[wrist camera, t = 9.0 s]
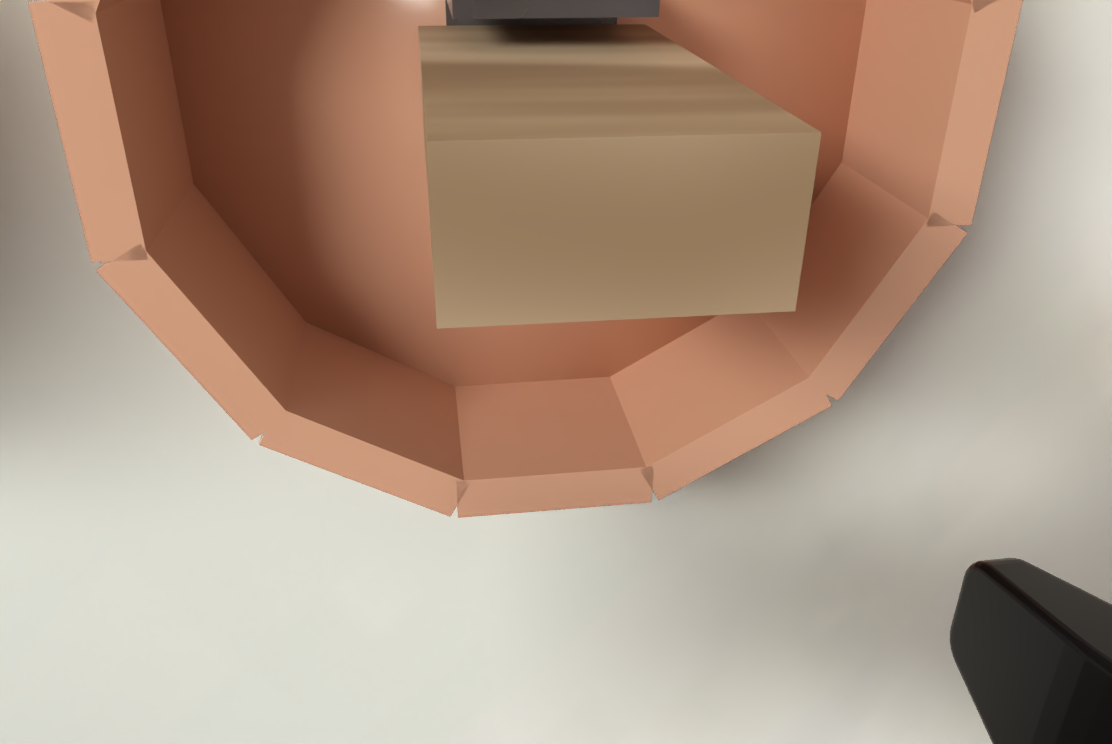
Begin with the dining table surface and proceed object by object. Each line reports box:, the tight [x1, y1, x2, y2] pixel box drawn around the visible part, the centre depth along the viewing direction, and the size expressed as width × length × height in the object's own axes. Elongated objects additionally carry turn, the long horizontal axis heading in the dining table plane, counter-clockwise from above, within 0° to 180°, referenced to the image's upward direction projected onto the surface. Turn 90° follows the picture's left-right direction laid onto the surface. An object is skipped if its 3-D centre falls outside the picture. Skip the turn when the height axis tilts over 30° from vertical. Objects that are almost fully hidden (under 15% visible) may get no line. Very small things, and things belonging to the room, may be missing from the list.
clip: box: [445, 0, 660, 26], centre depth 15 cm, size 4×3×3 cm
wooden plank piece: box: [418, 24, 822, 329], centre depth 13 cm, size 2×4×8 cm, turn 89°
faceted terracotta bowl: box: [28, 0, 1023, 518], centre depth 16 cm, size 14×14×4 cm
